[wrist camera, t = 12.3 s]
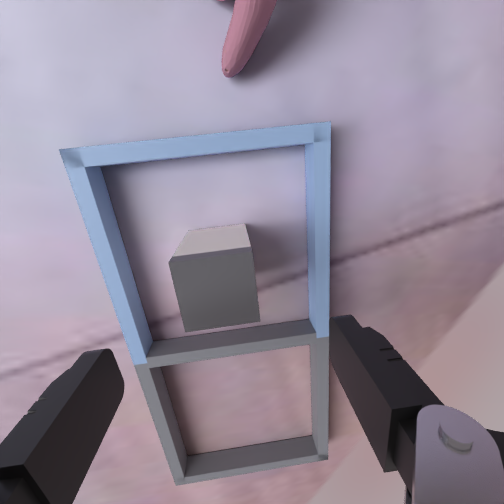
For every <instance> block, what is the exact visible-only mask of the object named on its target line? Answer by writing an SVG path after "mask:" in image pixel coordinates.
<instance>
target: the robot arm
mask: <svg viewBox="0 0 504 504" xmlns="http://www.w3.org/2000/svg"><path fill="white" fill-rule="evenodd" d="M329 354H330V359H331V363H332V366H333V368H334V370H335V372H336V375H337V377H338V379H339V381H340V383H341V385H342V387H343V389H344V391H345V393H346V395H347V397H348V399H349V401H350V403H351V405H352V407H353V409H354V411H355V413H356V415H357V417H358V420H359V422H360V424H361V426H362V428H363V430H364V432H365V434H366V436H367V438H368V440H369V442H370V444H371V446H372V448H373V450H374V452H375V454H376V456H377V458H378V460H379V462H380V465H381V467H382V468H383V471H384V472H391V471H397V470H398V472H399V473H400V475H401V477H402V479H403V481H404V483H405V485H406V487H405V497H404V504H504V432H498V431H493V430H488V429H485V428H484V427H483V426H482V425H481V424H479V423H478V422H477V421H476V420H474V419H473V418H472V417H470V416H468V415H467V414H465V413H463V412H461V411H459V410H457V409H454V408H452V407H448V406H445V405H444V404H443V403H442V402H441V401H440V400H439V399H438V398H437V396H436V395H435V394H434V393H433V392H432V391H431V390H430V389H429V387H428V386H427V385H426V384H425V383H424V382H423V380H422V379H421V378H420V377H419V376H418V375H417V374H416V372H415V371H414V370H413V369H412V368H411V367H410V366H409V364H408V363H407V362H406V361H405V360H403V359H402V356H401V355H400V354H399V353H398V352H397V351H396V350H394V347H393V346H392V345H391V344H390V343H389V341H388V340H387V339H386V338H385V337H384V336H383V335H382V334H380V333H378V332H377V331H375V330H374V329H372V328H370V327H365V328H362V327H361V326H360V324H359V323H358V322H357V321H356V319H355V318H354V317H353V316H352V315H344V316H337V317H331V318H330V319H329ZM123 394H124V380H123V377H122V375H121V372H120V370H119V367H118V365H117V362H116V360H115V357H114V354H113V352H112V351H111V350H110V349H100V350H93V351H87V352H84V353H83V354H82V355H81V356H80V357H79V358H78V360H77V361H76V362H75V363H74V365H73V366H72V367H71V368H70V369H68V370H67V371H65V372H64V373H63V374H62V375H60V376H59V377H58V378H57V379H56V380H54V381H53V382H52V383H51V384H50V385H49V386H48V388H47V389H46V390H45V391H44V392H43V394H42V395H41V396H40V397H39V400H38V401H36V402H35V403H34V404H33V406H32V407H31V408H30V409H29V410H28V414H27V415H24V416H23V418H22V419H21V420H20V421H19V422H18V424H17V425H16V426H15V427H14V428H13V430H12V431H11V432H10V433H9V434H8V436H7V437H6V438H5V439H4V440H3V442H2V443H1V444H0V504H72V503H73V501H74V499H75V497H76V495H77V493H78V491H79V488H80V486H81V484H82V482H83V480H84V478H85V476H86V474H87V472H88V470H89V467H90V465H91V463H92V461H93V459H94V457H95V455H96V453H97V451H98V448H99V446H100V444H101V442H102V440H103V438H104V436H105V434H106V432H107V430H108V427H109V425H110V423H111V421H112V419H113V417H114V415H115V413H116V411H117V408H118V406H119V404H120V402H121V400H122V397H123Z"/></svg>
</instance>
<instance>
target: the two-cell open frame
mask: <svg viewBox="0 0 504 504" xmlns="http://www.w3.org/2000/svg"><path fill="white" fill-rule="evenodd" d="M298 145H305V174H306V213H307V252H308V291H309V319H306V320H299V321H292V322H285V323H278V324H271V325H264V326H257V327H250V328H243V329H236V330H229V331H222V332H215V333H208V334H201V335H194V336H187V337H180V338H173V339H166V340H159V341H153V340H152V337H151V334H150V330H149V327H148V324H147V320H146V317H145V314H144V310H143V307H142V304H141V300H140V297H139V294H138V290H137V287H136V284H135V280H134V277H133V274H132V270H131V267H130V264H129V260H128V257H127V254H126V250H125V247H124V244H123V240H122V237H121V234H120V230H119V227H118V224H117V220H116V217H115V214H114V210H113V207H112V204H111V201H110V197H109V194H108V191H107V187H106V184H105V181H104V177H103V174H102V171H101V167H102V166H112V165H121V164H130V163H140V162H149V161H158V160H168V159H177V158H186V157H196V156H205V155H214V154H223V153H233V152H242V151H251V150H261V149H270V148H279V147H289V146H298ZM59 151H60V154H61V157H62V160H63V163H64V165H65V168H66V171H67V174H68V177H69V180H70V183H71V186H72V188H73V191H74V194H75V197H76V200H77V203H78V206H79V209H80V211H81V214H82V217H83V220H84V223H85V226H86V229H87V231H88V234H89V237H90V240H91V243H92V246H93V249H94V252H95V254H96V257H97V260H98V263H99V266H100V269H101V272H102V275H103V277H104V280H105V283H106V286H107V289H108V292H109V295H110V298H111V300H112V303H113V306H114V309H115V312H116V315H117V318H118V321H119V323H120V326H121V329H122V332H123V335H124V338H125V341H126V344H127V346H128V349H129V352H130V355H131V358H132V361H133V364H134V367H135V369H136V372H137V375H138V378H139V381H140V384H141V387H142V390H143V392H144V395H145V398H146V401H147V404H148V407H149V410H150V413H151V415H152V418H153V421H154V424H155V427H156V430H157V433H158V436H159V438H160V441H161V444H162V447H163V450H164V453H165V456H166V459H167V461H168V464H169V467H170V470H171V473H172V476H173V479H174V482H175V484H176V486H177V485H183V484H189V483H195V482H200V481H206V480H212V479H218V478H224V477H229V476H235V475H241V474H247V473H253V472H258V471H264V470H270V469H276V468H282V467H287V466H293V465H299V464H305V463H311V462H316V461H322V460H328V407H329V281H330V156H331V121H330V122H320V123H311V124H301V125H291V126H281V127H272V128H262V129H252V130H243V131H233V132H223V133H214V134H204V135H194V136H185V137H175V138H165V139H155V140H146V141H136V142H126V143H117V144H107V145H97V146H88V147H78V148H68V149H59ZM309 344H310V368H311V407H312V436H306V437H300V438H294V439H288V440H282V441H276V442H270V443H264V444H258V445H252V446H246V447H240V448H234V449H228V450H222V451H216V452H210V453H204V454H198V455H192V456H187V453H186V450H185V447H184V443H183V440H182V437H181V433H180V430H179V427H178V423H177V420H176V417H175V413H174V410H173V407H172V404H171V400H170V397H169V394H168V390H167V387H166V384H165V380H164V377H163V374H162V370H161V366H167V365H174V364H181V363H188V362H194V361H201V360H208V359H215V358H221V357H228V356H235V355H242V354H248V353H255V352H262V351H269V350H275V349H282V348H289V347H296V346H302V345H309Z"/></svg>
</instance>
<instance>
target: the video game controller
mask: <svg viewBox="0 0 504 504" xmlns="http://www.w3.org/2000/svg"><path fill="white" fill-rule="evenodd" d="M218 1H224V0H218ZM276 2H277V0H235V4H234V10H233V15H232V18H231V22H230V25H229V29H228V32H227V36H226V39H225V43H224V46H223V52H222V71H223V74H224V75H225V77H227V78H231V77H233V76H235V75H236V74H238V73H239V72H240V71H241V70H242V69H243V68H244V66H245V65H246V63H247V62H248V60H249V59H250V57H251V55H252V54H253V52H254V50H255V48H256V46H257V44H258V42H259V40H260V38H261V36H262V34H263V32H264V30H265V28H266V27H267V25H268V22H269V20H270V17H271V15H272V12H273V10H274V7H275V5H276Z"/></svg>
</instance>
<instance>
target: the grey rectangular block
mask: <svg viewBox="0 0 504 504" xmlns="http://www.w3.org/2000/svg"><path fill="white" fill-rule="evenodd" d="M169 267H170V271H171V275H172V279H173V284H174V288H175V292H176V296H177V300H178V304H179V308H180V312H181V316H182V320H183V325H184V329H185V332H191V331H198V330H205V329H212V328H219V327H226V326H233V325H240V324H246V323H253V322H260V314H259V305H258V296H257V287H256V278H255V269H254V260H253V252H252V248H251V244H250V241H249V237H248V233H247V230H246V226H245V224H237V225H229V226H221V227H213V228H205V229H197V230H189V231H188V232H187V233H186V235H185V237H184V238H183V240H182V242H181V243H180V245H179V246H178V248H177V250H176V251H175V253H174V255H173V256H172V258H171V259H170V261H169Z"/></svg>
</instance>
